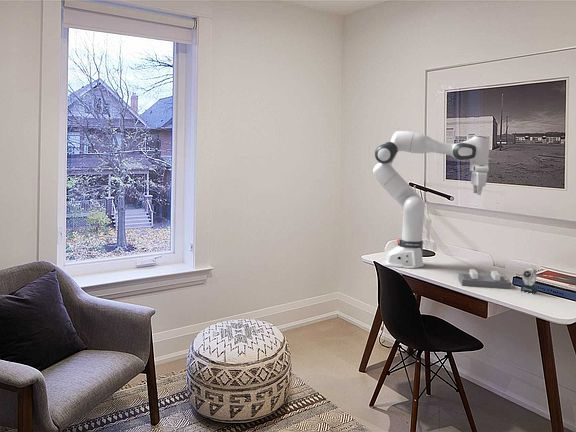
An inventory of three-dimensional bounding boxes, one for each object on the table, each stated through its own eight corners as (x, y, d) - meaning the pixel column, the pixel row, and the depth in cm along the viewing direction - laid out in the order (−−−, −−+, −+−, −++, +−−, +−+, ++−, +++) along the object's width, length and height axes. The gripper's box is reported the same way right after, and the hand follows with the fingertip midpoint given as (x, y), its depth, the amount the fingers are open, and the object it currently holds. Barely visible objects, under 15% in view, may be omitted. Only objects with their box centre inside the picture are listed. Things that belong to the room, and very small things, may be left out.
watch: (518, 291, 226) (520, 268, 224) (527, 289, 231) (529, 266, 229) (530, 294, 221) (532, 271, 220) (539, 291, 226) (541, 268, 225)
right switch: (494, 280, 233) (495, 274, 232) (490, 275, 241) (491, 270, 241) (500, 280, 232) (500, 275, 232) (495, 276, 241) (496, 270, 240)
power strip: (462, 285, 234) (462, 279, 234) (458, 279, 246) (458, 273, 245) (511, 288, 230) (511, 282, 230) (504, 282, 242) (505, 276, 241)
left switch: (472, 278, 234) (472, 273, 234) (469, 274, 243) (469, 268, 243) (477, 279, 234) (478, 273, 234) (474, 274, 243) (474, 269, 242)
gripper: (469, 166, 266) (467, 192, 268) (476, 168, 246) (474, 195, 248) (481, 167, 265) (479, 192, 266) (489, 168, 245) (487, 196, 246)
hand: (477, 194), depth 257 cm, fingers open, 8 cm apart
